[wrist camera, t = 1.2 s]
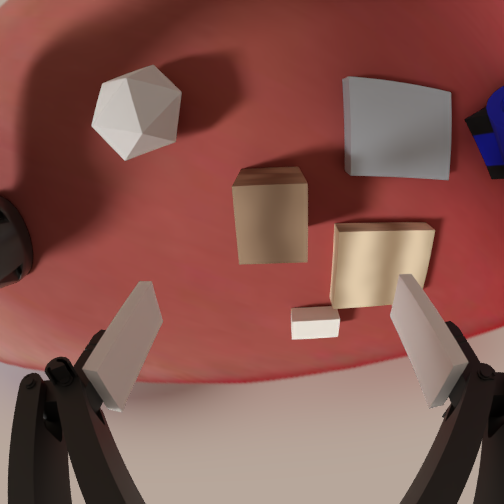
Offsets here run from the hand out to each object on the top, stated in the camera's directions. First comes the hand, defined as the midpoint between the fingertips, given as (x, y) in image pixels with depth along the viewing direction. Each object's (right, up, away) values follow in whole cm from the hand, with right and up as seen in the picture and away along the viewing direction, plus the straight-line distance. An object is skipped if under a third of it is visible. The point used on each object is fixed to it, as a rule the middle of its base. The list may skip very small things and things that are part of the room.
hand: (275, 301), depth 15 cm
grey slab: (+14, +16, +12) cm, 25 cm away
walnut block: (+1, +8, +17) cm, 19 cm away
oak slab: (+14, +2, +19) cm, 24 cm away
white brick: (+7, -6, +23) cm, 25 cm away
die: (-12, +18, +13) cm, 25 cm away
